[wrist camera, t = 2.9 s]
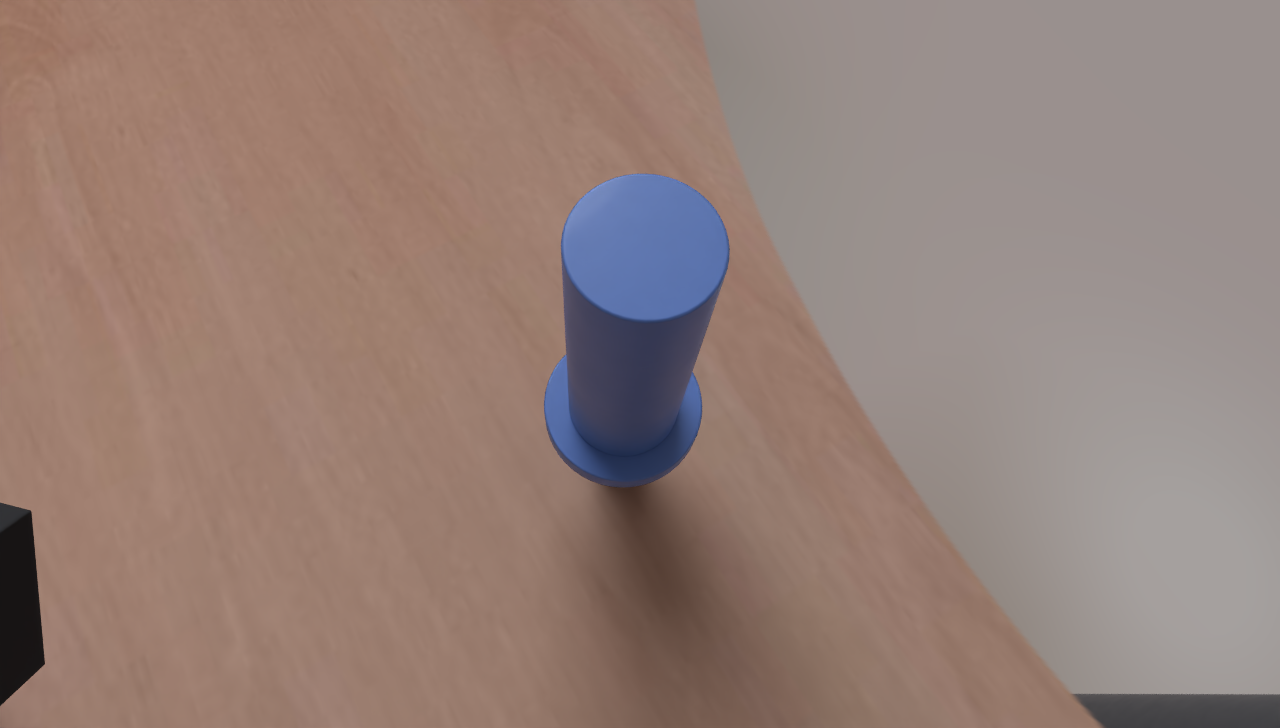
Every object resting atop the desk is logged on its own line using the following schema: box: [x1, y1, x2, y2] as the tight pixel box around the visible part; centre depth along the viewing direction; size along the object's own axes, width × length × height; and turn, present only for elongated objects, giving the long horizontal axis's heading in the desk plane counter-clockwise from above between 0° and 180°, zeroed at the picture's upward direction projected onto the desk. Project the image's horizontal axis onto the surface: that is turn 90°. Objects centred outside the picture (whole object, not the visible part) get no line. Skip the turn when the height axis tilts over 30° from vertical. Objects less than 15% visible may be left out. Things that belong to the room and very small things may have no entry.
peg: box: [544, 174, 730, 487], centre depth 29 cm, size 6×6×19 cm
